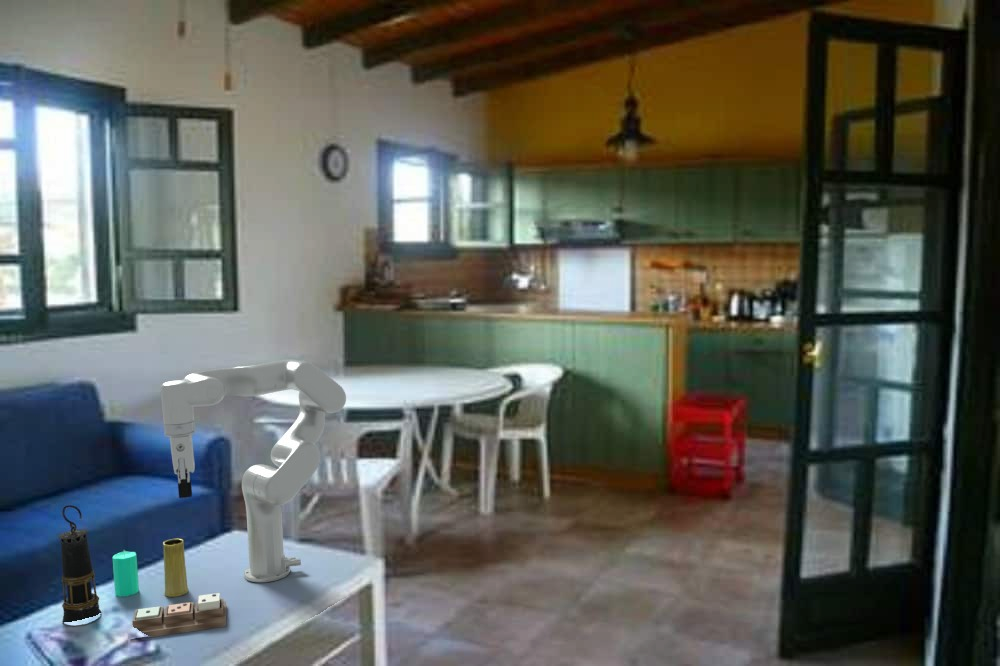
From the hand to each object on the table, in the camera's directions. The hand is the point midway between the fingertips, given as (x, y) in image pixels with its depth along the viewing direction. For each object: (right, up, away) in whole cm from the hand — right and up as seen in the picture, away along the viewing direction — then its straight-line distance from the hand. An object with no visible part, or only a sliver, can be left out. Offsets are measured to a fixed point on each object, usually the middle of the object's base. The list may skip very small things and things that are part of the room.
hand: (185, 496), depth 231 cm
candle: (-19, -28, +9) cm, 35 cm away
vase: (-5, -28, +8) cm, 29 cm away
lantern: (-24, -30, -7) cm, 39 cm away
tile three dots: (+2, -28, -11) cm, 30 cm away
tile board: (+2, -30, -11) cm, 32 cm away
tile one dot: (-4, -28, -13) cm, 32 cm away
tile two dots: (+9, -26, -9) cm, 29 cm away
